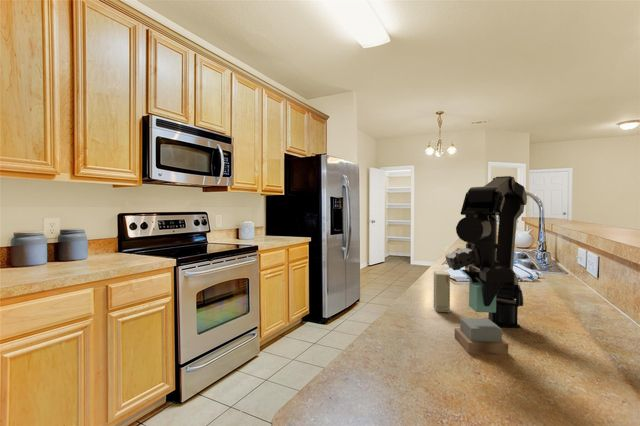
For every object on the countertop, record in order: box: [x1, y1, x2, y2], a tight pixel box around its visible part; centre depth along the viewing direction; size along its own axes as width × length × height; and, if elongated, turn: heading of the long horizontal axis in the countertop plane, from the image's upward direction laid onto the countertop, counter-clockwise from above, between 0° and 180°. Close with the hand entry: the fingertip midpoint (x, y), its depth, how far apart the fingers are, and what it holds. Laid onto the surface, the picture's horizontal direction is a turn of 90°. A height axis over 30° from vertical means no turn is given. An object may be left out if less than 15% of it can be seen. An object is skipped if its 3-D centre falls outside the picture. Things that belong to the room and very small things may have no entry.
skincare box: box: [433, 270, 451, 314], centre depth 108 cm, size 6×4×12 cm
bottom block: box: [454, 327, 509, 356], centre depth 81 cm, size 9×9×3 cm
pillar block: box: [468, 281, 496, 313], centre depth 80 cm, size 4×4×6 cm
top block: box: [459, 317, 503, 342], centre depth 81 cm, size 7×7×3 cm
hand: (482, 302), depth 80 cm, fingers closed on pillar block, 4 cm apart
